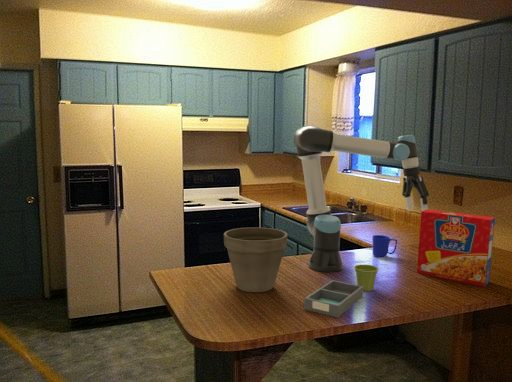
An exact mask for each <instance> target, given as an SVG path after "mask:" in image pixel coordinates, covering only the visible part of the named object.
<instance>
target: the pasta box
mask: <svg viewBox="0 0 512 382" xmlns="http://www.w3.org/2000/svg"><path fill="white" fill-rule="evenodd" d="M495 221H496V217H494V216H493V217H492V216H488V215H487V216H486V215H478V214H468V213H460V212H453V211H443V210H435V209H429V208H428V209H427V210H424V211H422V210H421V213H420V225H419V237H418V238H419V239H418V240H419V241H418V252H417V254H418V255H417V267H416V273H417V274H420V275H427V276H430V277H435V278H440V279H445V280H451V281H455V282H460V283H463V284H470V285H474V286H480V287H484V288H485V287H486V286H487V285H488V284H489V283H490V277H491V275H490V274H491V266H492V255H493V244H494V233H495Z"/></svg>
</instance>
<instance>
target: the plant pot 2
mask: <svg viewBox="0 0 512 382" xmlns="http://www.w3.org/2000/svg"><path fill="white" fill-rule="evenodd" d="M353 268H354V270H355V276H356V285H358V286H363V291H366V292H372V291H373V290H374V287H375V281H376V277H377V274H378V271H379V269H380V268H379V267H377V266H374V265H371V264H356V265H354V267H353Z"/></svg>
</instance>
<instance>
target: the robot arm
mask: <svg viewBox="0 0 512 382" xmlns="http://www.w3.org/2000/svg"><path fill="white" fill-rule="evenodd" d="M416 141H417V140H416V138H415V135H413V134H407V135H406V134H405V135H400V136H398V137H397V140H396V141H387V140H379V139H373V138H365V137H358V136H352V135H346V134H340V133H335V132H334V131H333V130H328V129H325V128H321V127H317V126H314V125H305V126H302V127H299V128H298V129H297V130H296V131H295V133H294V136H293V143H294V144H293V145H294V146H295V148H296V153H297V158H298V159H300V160H301V165H302V171H303V178H304V186H305V190H306V191H305V193H306V198H307V205H308V209H307V211H306V213H305V214H306V229H307V231H308V233H310V235H311V236H313V251H312V253H311V256H310V259H309V261H308V267H309V268H310V269H312V270H313V271H317V272H323V273H324V272H326V273H333V272H340V271H341V270H342V269H343V261H342V257H341V253H340V244H341V243H340V242H341V228H342V225H341V224H342V223H341V220H340V218H339V217H337V216H336V215H332V212H331V208H330V207H328V205H327V200H326V192H325V186H324V180H323V179H324V178H323V172H322V166H321V165H322V164H321V155H322V154H323V153H330V152H333V151H334V152H339V153H340V152H341V153H347V154H352V155H353V154H354V155H360V156H367V157H374V158H376V159H377V160H379V161H380V160H387V159H388V160H395V161H399V162H400V161H401V164H402V165H401V166H402V168H403V169H402V172H403V176H404V177H402V179H403V183H402V184H403V185H402V192H401V193H402V195H401V196H402V197H404V198H405V204H406V210H407V211H408V212H409V211H413V210H414V207H413V200H412V195H411V194H412V190H413V188H415V189H416V190H417V193H418V194H419V199H420V205H421V206H420V207H421V211H424V210H427V209H428V210H429V207H428V199H427V198H428V197H429V196H430V193H429V190H428V188H427V186H426V183H425V182H424V178H423V175H421V176H419V175H420V174H421V171H420V170H421V169H420V167H419V165H420V164H419V159H418V158H419V157H418V150H417V142H416Z"/></svg>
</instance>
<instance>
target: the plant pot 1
mask: <svg viewBox="0 0 512 382" xmlns="http://www.w3.org/2000/svg"><path fill="white" fill-rule="evenodd" d="M223 244H224V247H225V248H226V249H227V254H228V258H229V262H230V266H231V270H232V274H233V278H234V282H235V284H236V287H237V289H239V290H241V291H243V292H246V293H265V292H269V291H271V290H272V289H273V288H274V286H275V284H276V280H277V277H278V274H279V270H280V266H281V262H282V258H283V255H284V251H285V249H286V248H287V246H288V233H287V232H286V231H284V230H282V229H276V228H272V227H271V228H270V227H269V228H268V227H240V228H232V229H229V230H226V231H225V232H224V233H223Z"/></svg>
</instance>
